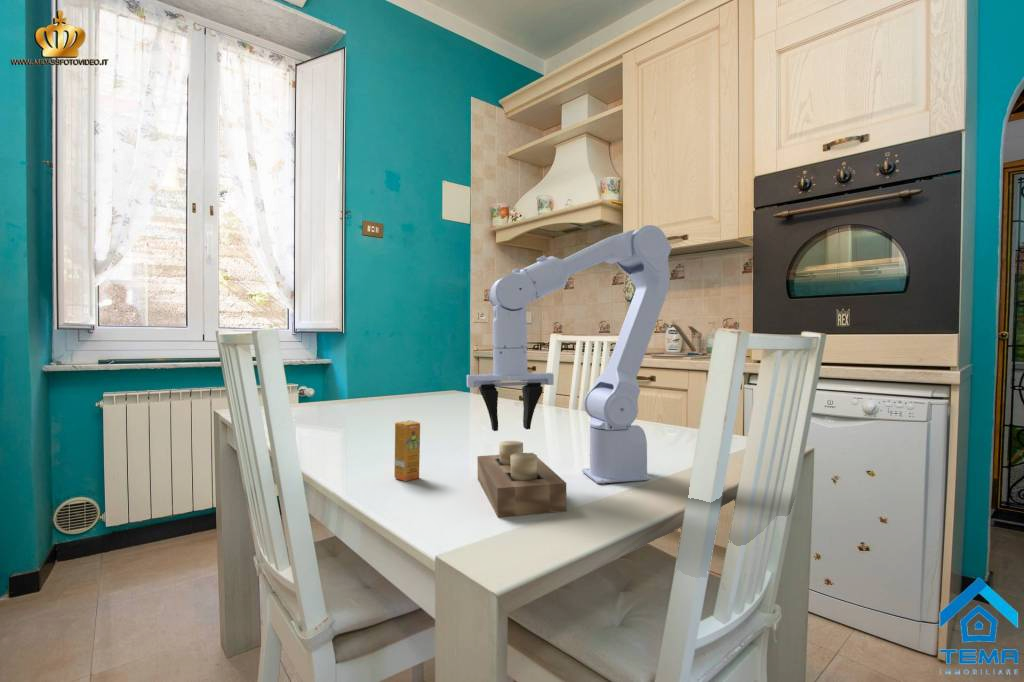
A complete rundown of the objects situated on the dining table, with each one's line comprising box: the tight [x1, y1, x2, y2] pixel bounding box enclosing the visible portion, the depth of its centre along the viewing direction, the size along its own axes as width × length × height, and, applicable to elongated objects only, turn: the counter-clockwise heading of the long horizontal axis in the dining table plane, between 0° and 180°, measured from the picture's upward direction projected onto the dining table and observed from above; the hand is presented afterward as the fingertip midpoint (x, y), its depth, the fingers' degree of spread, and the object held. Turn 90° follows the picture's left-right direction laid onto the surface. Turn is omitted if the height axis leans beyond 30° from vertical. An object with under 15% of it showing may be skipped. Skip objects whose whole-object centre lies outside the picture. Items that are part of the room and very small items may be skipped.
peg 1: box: [498, 440, 524, 465], centre depth 84 cm, size 4×4×4 cm
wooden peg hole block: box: [477, 452, 568, 518], centre depth 80 cm, size 10×19×4 cm, turn 12°
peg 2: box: [510, 452, 538, 481], centre depth 75 cm, size 4×4×4 cm
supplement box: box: [394, 420, 421, 482], centre depth 89 cm, size 3×3×10 cm
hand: (510, 429), depth 84 cm, fingers open, 5 cm apart
